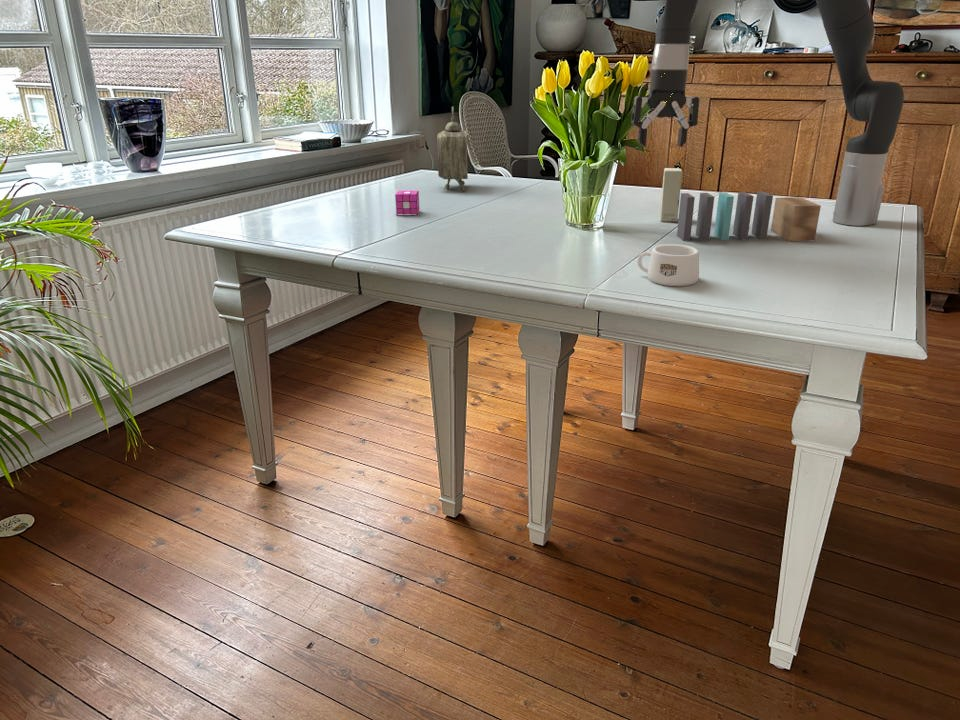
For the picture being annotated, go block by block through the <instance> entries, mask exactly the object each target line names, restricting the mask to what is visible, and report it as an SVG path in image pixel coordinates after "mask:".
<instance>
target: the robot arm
mask: <svg viewBox="0 0 960 720" xmlns="http://www.w3.org/2000/svg"><path fill="white" fill-rule="evenodd" d="M698 1H699V0H665V4H664V8H663V9H664V10H663V13H661V15H660V16H659V17H658V19H657V22H656V23H657V24H656V31H655V32H656V33H655V42H654V43H655V44H654V50H653V54H652V60H651V71H650V73H651V74H650V84H649V93H648V95H647V97H646V96H645V97H643V96H642V97H641V96H639V95H636V96H635V97H634V98H633V103H632V104H633V105H632V112H631V118H630V119H631V120H630V123H631V125H633V126H636V127H637V128H638V135H637V136H638V137H637V143H638V142H639V143H638V144H639V145H640V144H641V145H642V146H641V145H640V147H646V145H647V137H648V136H647V135H648V128H647V127H648V126H649V125H650V124H651V122H653V121H654V120H655V119H656V118H660V119H661V118H674V119H675V121H677V123H678V124H679V126H680V128H678V136H677V142H676V143H677V147H680V148H683V147H684V145H685V144H686V143H687V139H688V130H689V128H692V127H696V126H697V125H698V121H699V120H698V119H699V108H700V107H699V106H700V97H698V96H690V97H687V96H686V88H687V80H688V70H689V63H690V62H689V61H690V60H689V59H690V40H691V31H692V22H693V18H694V15H695V12H696V8H697V5H698ZM815 2H816V5H817V9H818V11H819V14H820V17H821V20H822V24H823V29H824V31H825V34H826V37H827V40H828V42H829V45H830V48H831V50H832V54H833V57H834V61H835V64H836V67H837V72H838V74H839V78H840V83H841V90H842V94H843V100H844V104H845V105H844V106H845V109H846V111H847V113H848V115H849V117H850V118H851V119H853V120H855V121H857V122H865V123H867V127H866V130H865V131H864V132H863V133H861V134H860V135H857V136H854V137H851V138H849V139H848V140H847V142H846V145H845V152H844V157H843V162H842V168H841V171H840V172H841V173H840V178H839V179H840V180H839V183H838V189H837V195H836V199H835V204H834V211H833V213H832V221H833V222H834V223H837V224H840V225H846V226H856V227H857V226H860V227H863V226H871V225H877V223H878V218H879V215H880V214H879V213H880V209H881V204H882V200H883V197H884V196H883V195H884V191H885V185H884V184H882V182H883V178H884V172H885V169H886V162H887V158H888V154H889V150H890V146H891V145H892V143H893V141H894V140H895V136H896V132H897V129H898V125H899V122H900V118H901V114H902V110H903V106H904V100H905V98H904V97H905V93H904V89H903V86H902V85H901V84H900V83H899V82H896V81H888V80H887V81H885V80H883V81H882V80H873V79H872V78H871V76H870V72H869V70H868V65H867V55H868V53H869V52H868V51H869V49H870V47H871V44H872V41H873V38H874V34H875V22H874V19H873V15H872V12H871V8H870V5H869V1H868V0H815ZM664 73H665V74H664ZM661 76H662V77H661ZM672 93H673V94H672ZM671 94H672V95H671ZM670 96H671V97H670ZM666 101H667V102H666ZM660 102H666V103H660ZM645 104H647V105H648V107H649V109H648V110H647V112H646V113H645V115H646V114H647V116H645V115H644V116H643V118H642V119H640V118H641V112H642V108H644V106H645ZM685 104H686V105H687V108H688V109H689V112H688V120H687V118H686V115H685V114H684V113H683V111H682V108H683V107H684V106H685ZM652 108H654V109H652ZM651 109H652V110H651ZM650 110H651V111H650ZM638 121H639V122H638Z"/></svg>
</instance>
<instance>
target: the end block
mask: <svg viewBox="0 0 960 720" xmlns="http://www.w3.org/2000/svg"><path fill="white" fill-rule="evenodd" d="M821 207H822V206H821V205H820V204H817V203H816V202H813V201H811V200H808V199H806V198H803V197H800V196H799V197H798V196H797V197H796V196H794V197H792V196H791V197H789V196H788V197H787V196H785V197H775V201H774V207H773V213H772V220H771V225H770V232H771V233H774V234H775V235H777V236H779V237H780V238H783V239H785V241H788V242H805V240H816V234H817V229H818V223H819V219H820V213H821Z"/></svg>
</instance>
